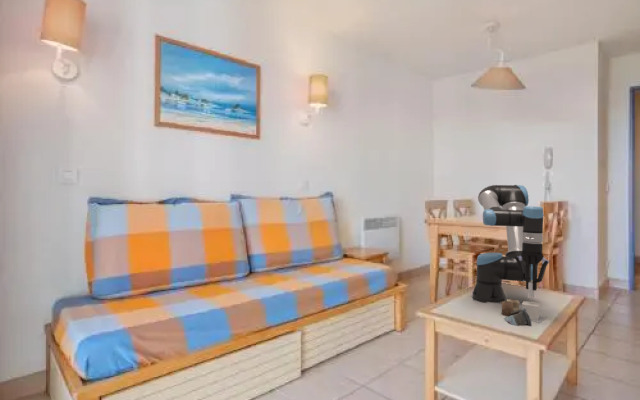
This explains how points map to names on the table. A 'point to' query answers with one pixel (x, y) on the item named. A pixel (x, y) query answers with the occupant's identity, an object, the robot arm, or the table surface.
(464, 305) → the table surface
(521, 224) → the robot arm
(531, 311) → the plain block
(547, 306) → the table surface
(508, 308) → the walnut cylinder
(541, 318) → the mat
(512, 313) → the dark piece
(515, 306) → the beech cube
